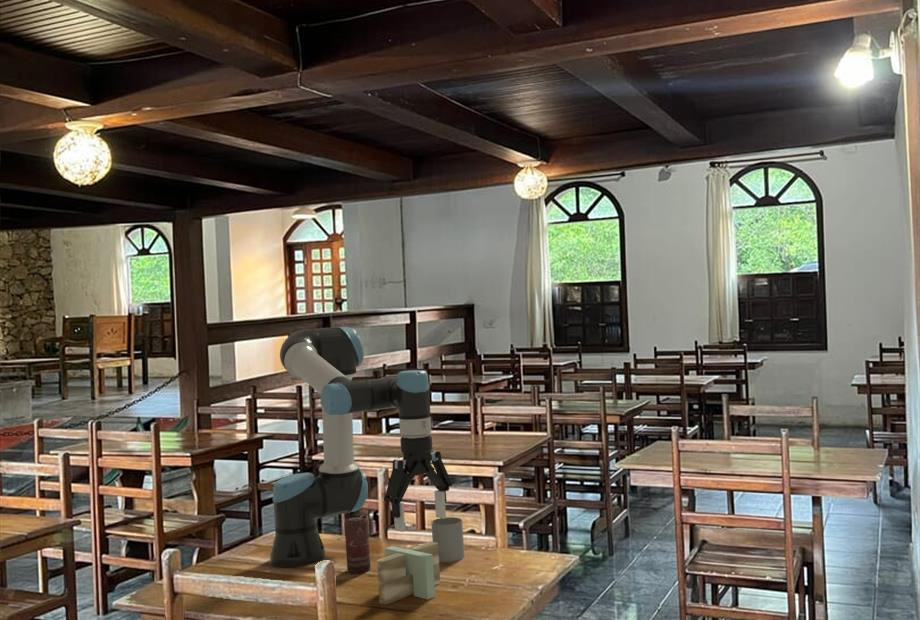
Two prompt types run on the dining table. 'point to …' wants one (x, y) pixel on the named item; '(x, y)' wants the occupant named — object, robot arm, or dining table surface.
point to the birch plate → (402, 574)
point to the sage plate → (418, 570)
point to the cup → (448, 538)
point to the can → (357, 544)
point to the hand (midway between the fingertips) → (421, 524)
